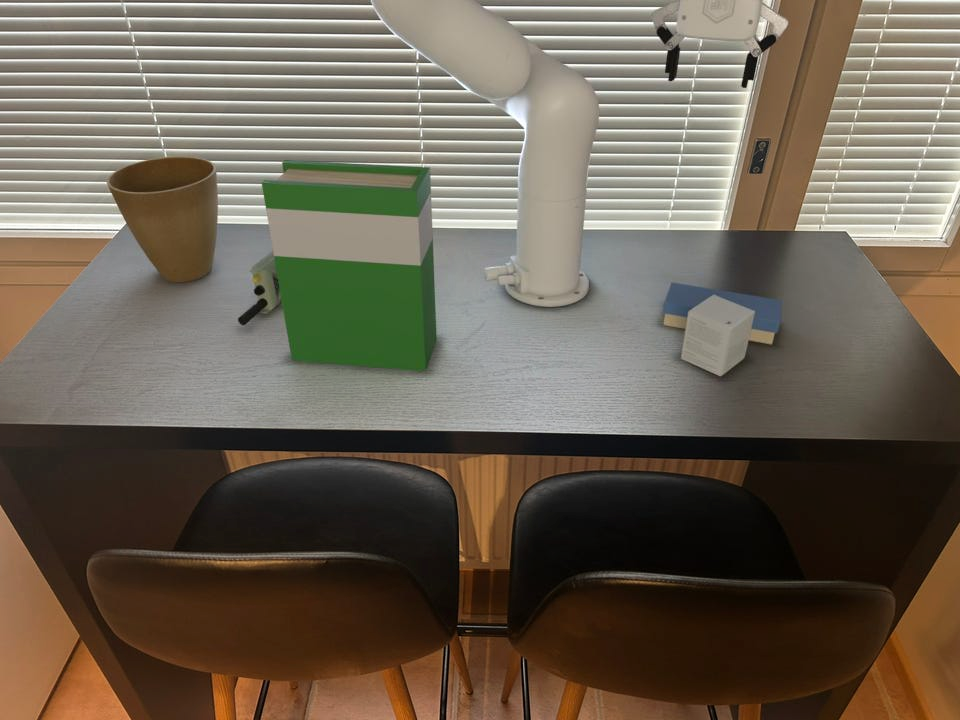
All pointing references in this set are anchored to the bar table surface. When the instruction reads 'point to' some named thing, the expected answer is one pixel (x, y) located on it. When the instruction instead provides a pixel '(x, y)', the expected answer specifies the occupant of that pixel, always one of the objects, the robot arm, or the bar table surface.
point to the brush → (765, 308)
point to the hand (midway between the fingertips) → (707, 82)
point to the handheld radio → (263, 288)
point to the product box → (717, 334)
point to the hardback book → (355, 262)
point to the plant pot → (171, 212)
